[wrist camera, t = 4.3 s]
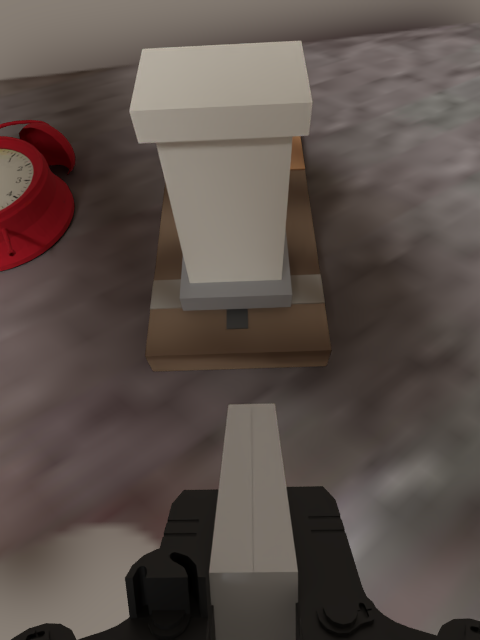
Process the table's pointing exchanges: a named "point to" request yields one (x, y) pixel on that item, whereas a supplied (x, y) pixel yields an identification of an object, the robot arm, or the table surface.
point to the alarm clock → (32, 192)
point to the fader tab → (226, 162)
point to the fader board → (242, 324)
